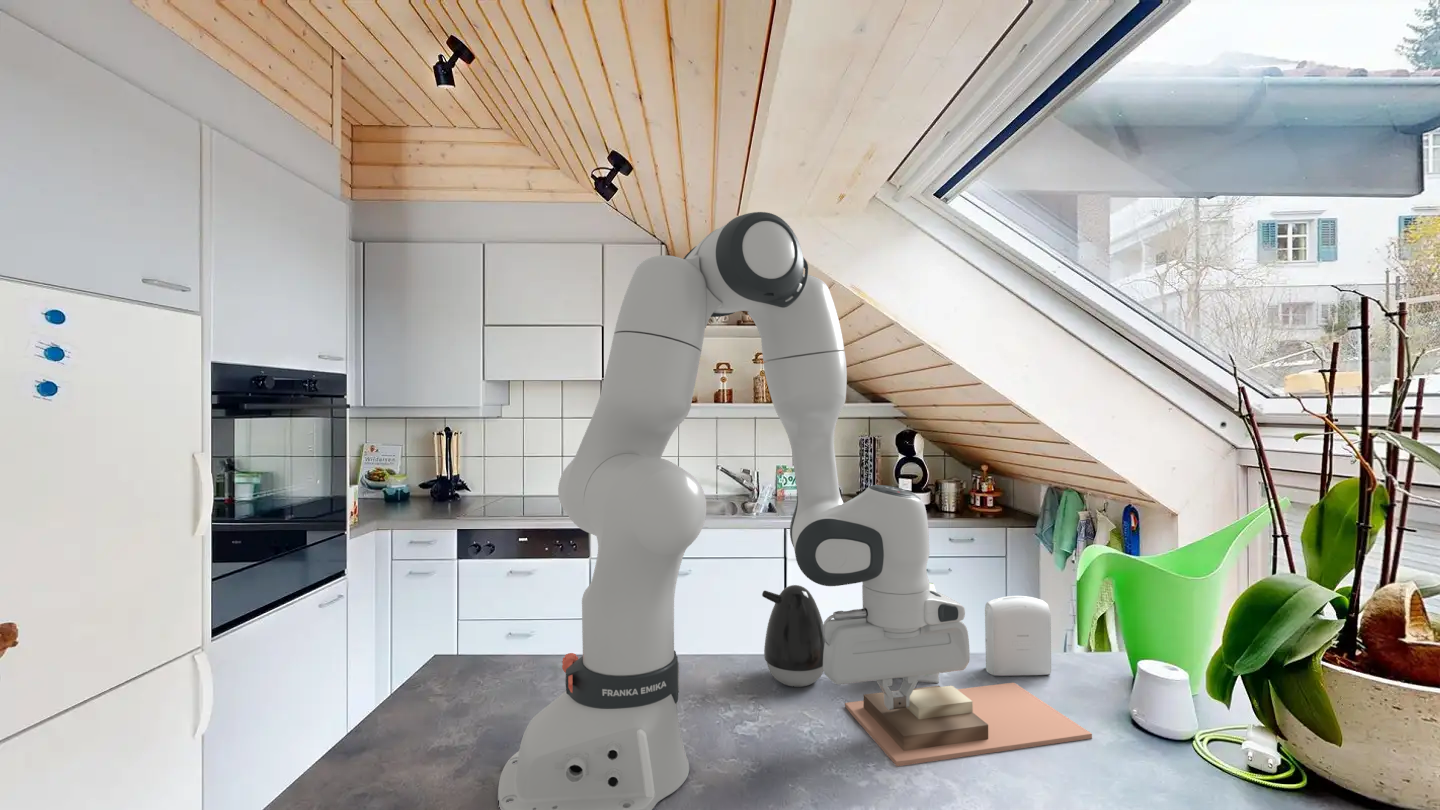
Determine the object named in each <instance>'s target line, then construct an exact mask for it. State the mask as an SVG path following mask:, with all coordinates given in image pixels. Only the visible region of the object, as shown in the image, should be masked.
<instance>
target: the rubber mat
mask: <svg viewBox="0 0 1440 810" xmlns="http://www.w3.org/2000/svg"><path fill="white" fill-rule="evenodd" d="M956 689H957V690H958V691H960V692H961V693H962V694H964V695H965V696H966V697H968V698H969V699H970V700H971V701H973V713H974V714H975V715H977V716H978V717H979V718H980V719H982V720H983V721H984V722H985V723H987V724H988V739H987V740H979V741H972V742H965V743H958V744H951V745H944V746H937V747H929V748H922V749H915V750H908V751H903V750H902V748H901V747H900V746H899V745H898V744H897V743H896V742H895V741H894V740H893V739H892V738H891V737H890V736H889V734H888V733H887V732H886V731H885V730H884V729H883V728H882V727H881V726H880V725H879V724H878V723H877V721H876V720H875V719H874V718H873V717H872V716H871V715H870V714H869V713H868V712H867V711H866V710H865V709H864V700H859V701H858V700H857V701H851V702H849V701H848V702H845V703H844V708H846V710H847V711H848V712H849V713H850V715H851V716H852V717H853V718H854V719H855V721H857V722H858V723H859V725H860V726H861V727H862V728H863V729H864V731H865V732H866V733H867V734H868V735H869V737H870V738H871V739H873V741H874V742H875V743H876V744H877V746H878V747H879V748H880V749H881V750H882V751H883V753H885V755H886V756H887V757H888V759H890V760H891V762H892V763H893V764H894V765H895V766H896V767H903V766H909V765H916V764H923V763H930V762H931V763H932V762H936V761H944V760H951V759H958V758H965V757H971V756H972V757H973V756H979V755H985V754H992V753H993V754H994V753H999V752H1006V751H1013V750H1014V751H1015V750H1021V749H1027V748H1034V747H1039V746H1047V745H1055V744H1061V743H1068V742H1074V741H1075V742H1076V741H1081V740H1089V739H1093V733H1092V732H1090V731H1088V730H1087V729H1086V728H1084V727H1083V726H1081V725H1079V724H1078V723H1076V722H1075V721H1074V720H1072V719H1070V718H1069V717H1067V716H1066V715H1064V714H1063V713H1061V712H1059V711H1058V710H1057V709H1055V708H1053V707H1052V706H1051V705H1049V704H1047V703H1046V702H1045V701H1042V700H1041V699H1040V698H1038V697H1036V696H1035V695H1034V694H1033V693H1032V692H1031V693H1030V692H1029V691H1028V690H1026V689H1025V688H1023V687H1022V686H1021V685H1018V684H1017V683H1015V682H1007V683H999V684H991V685H983V686H982V685H980V686H974V687H967V688H966V687H965V688H964V687H963V688H956Z"/></svg>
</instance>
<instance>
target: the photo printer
mask: <svg viewBox="0 0 1440 810" xmlns="http://www.w3.org/2000/svg"><path fill="white" fill-rule="evenodd" d="M1051 616H1052V615H1051V610H1050V606H1049V604H1048V603H1047V602H1046V601H1044V600H1043V599H1039V598H1037V597H1033V596H1026V595H1025V596H1024V595H1008V596H1001V597H999V598H994V599H992V600H989V601H987V602H986V603H985V606H984V628H985V629H984V630H985V631H984V633H985V634H984V638H985V639H984V640H985V641H984V643H985V671H986V672H987V673H988V674H989V675H991V676H1003V677H1004V676H1007V677H1009V676H1011V677H1012V676H1043V675H1046V676H1047V675H1051V674H1052V625H1051V624H1052V621H1051V620H1052V619H1051V618H1052V617H1051Z"/></svg>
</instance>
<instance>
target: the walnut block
mask: <svg viewBox="0 0 1440 810" xmlns="http://www.w3.org/2000/svg"><path fill="white" fill-rule="evenodd" d="M936 687H941V686H940V685H933V686H924V687H915V688H914V690H919V689H928V688H936ZM896 691H899V689H897V690H896ZM863 701H864V709H865V710H866V711H867V712H868V713H869V714H870V715H871V716H872V717H873V718H874V719H875V720H876V721H877V723H878V724H879V725H880V726H881V727H882V728H883V729H884V730H885V731H886V732H887V733H888V734H889V736H890V737H891V738H892V739H893V740H894V741H895V742H896V743H897V744H898V745H899V746H900V747H901V748H902V750H903V751H908V750H915V749H922V748H929V747H937V746H944V745H951V744H958V743H965V742H972V741H979V740H987V739H988V724H987V723H985V722H984V721H983V720H982V719H980V718H979V717H978V716H977V715H975V714H974V713H973V712H971V713H964V714H956V715H948V716H940V717H933V718H925V719H918V718H917V717H916V716H915V715H914V714H913V713H911V712H910V711H909V710H908V709H907V708H900V709H892V710H888V709H887V708H886V707H885V704H884V693H883V691H881V692H873V693H863Z"/></svg>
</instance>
